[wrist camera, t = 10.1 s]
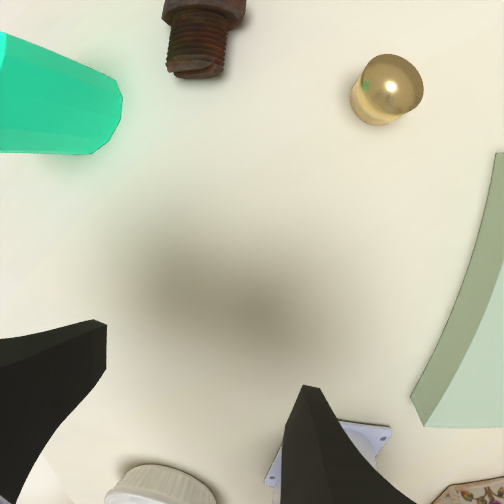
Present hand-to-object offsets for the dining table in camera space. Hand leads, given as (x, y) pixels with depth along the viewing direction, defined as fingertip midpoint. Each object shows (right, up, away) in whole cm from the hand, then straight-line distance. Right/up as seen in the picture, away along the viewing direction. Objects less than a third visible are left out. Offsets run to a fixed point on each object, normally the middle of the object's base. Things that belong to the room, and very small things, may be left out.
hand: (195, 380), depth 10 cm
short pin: (+9, +13, +6) cm, 17 cm away
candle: (-9, +14, +8) cm, 18 cm away
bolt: (0, +22, +5) cm, 22 cm away
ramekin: (-6, -20, +15) cm, 26 cm away
